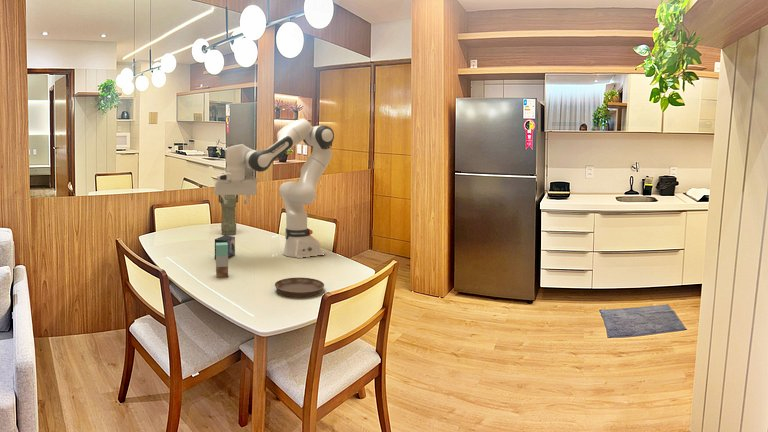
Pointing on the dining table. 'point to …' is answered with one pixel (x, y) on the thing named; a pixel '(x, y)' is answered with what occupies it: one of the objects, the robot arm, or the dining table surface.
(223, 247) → the teal cube
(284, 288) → the plant saucer
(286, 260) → the dining table surface
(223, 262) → the grey mid block
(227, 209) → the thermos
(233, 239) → the small box
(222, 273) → the walnut base block
